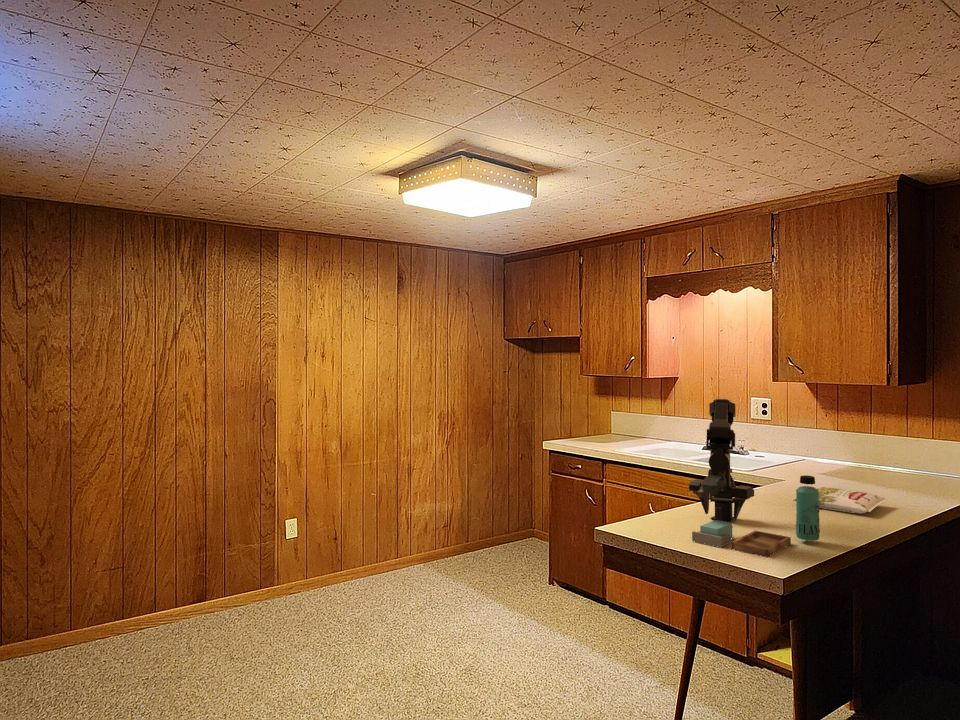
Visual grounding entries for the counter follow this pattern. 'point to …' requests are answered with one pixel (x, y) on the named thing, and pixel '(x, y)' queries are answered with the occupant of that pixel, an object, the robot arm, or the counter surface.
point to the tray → (761, 543)
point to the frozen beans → (847, 500)
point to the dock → (711, 539)
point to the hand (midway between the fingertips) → (720, 516)
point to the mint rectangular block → (717, 528)
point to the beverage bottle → (807, 510)
